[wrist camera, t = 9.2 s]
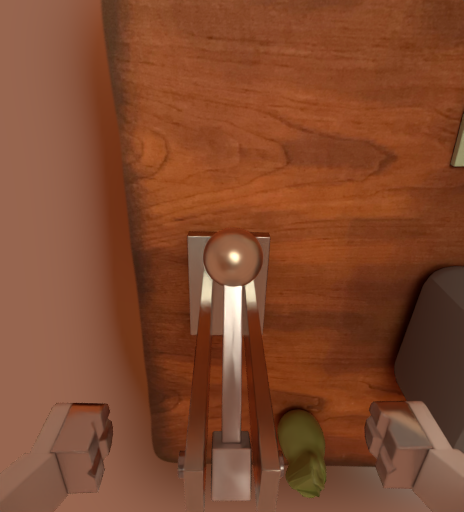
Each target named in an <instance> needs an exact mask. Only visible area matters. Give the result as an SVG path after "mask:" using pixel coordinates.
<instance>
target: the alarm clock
mask: <svg viewBox="0 0 464 512" xmlns="http://www.w3.org/2000/svg"><path fill="white" fill-rule="evenodd" d="M394 373H395V377H396V381H397V383H398V385H399V387H400V389H401V391H402V392H403V394H404V396H405V398H406V400H407V401H422V402H423V403H424V404H425V405H426V406H427V408H428V410H429V411H430V413H431V415H432V416H433V418H434V419H435V421H436V423H437V424H438V426H439V428H440V429H441V431H442V432H443V434H444V436H445V437H446V439H447V441H448V442H449V444H450V445H451V447H452V449H458V450H460V451H461V452H462V453H464V267H463V266H452V267H446V268H442V269H440V270H438V271H435V272H434V273H433V274H432V275H431V276H430V277H429V278H428V279H427V281H426V282H425V283H424V285H423V287H422V290H421V292H420V295H419V298H418V301H417V303H416V306H415V309H414V312H413V314H412V317H411V320H410V322H409V325H408V328H407V331H406V333H405V336H404V339H403V342H402V344H401V347H400V350H399V353H398V355H397V358H396V361H395V367H394Z"/></svg>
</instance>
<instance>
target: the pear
mask: <svg viewBox="0 0 464 512" xmlns="http://www.w3.org/2000/svg"><path fill="white" fill-rule="evenodd" d="M277 432H278V439H279V443H280V446H281V449H282V452H283V454H284V456H285V458H286V459H287V461H288V464H289V466H288V468H287V471H286V480H287V482H288V483H289V485H290V486H291V487H292V489H295V490H297V491H298V492H299V493H300V494H301V495H302V496H304V497H309V498H314V497H315V496H317V497H319V496H320V491H321V490H323V489H324V484H325V482H326V466H325V462H324V453H325V439H324V435H323V432H322V429H321V427H320V425H319V423H318V422H317V420H316V419H315V418H314V417H313V416H312V415H311V414H310V413H309V412H307V411H304V410H299V409H296V410H291V411H289V412H287V413H286V414H285V415H284V416H283V417H282V418H281V420H280V422H279V424H278V430H277Z"/></svg>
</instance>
